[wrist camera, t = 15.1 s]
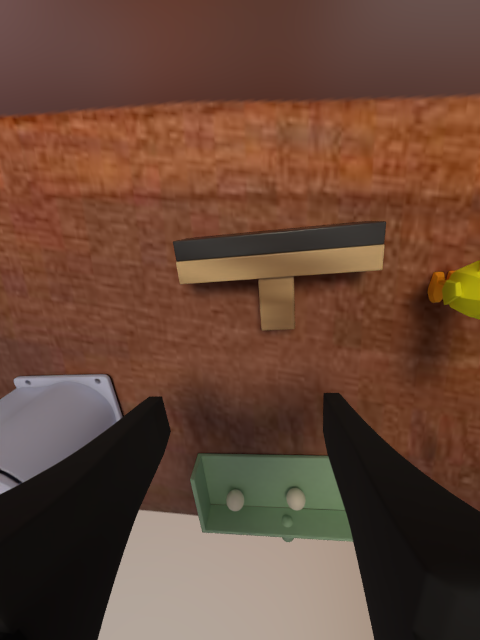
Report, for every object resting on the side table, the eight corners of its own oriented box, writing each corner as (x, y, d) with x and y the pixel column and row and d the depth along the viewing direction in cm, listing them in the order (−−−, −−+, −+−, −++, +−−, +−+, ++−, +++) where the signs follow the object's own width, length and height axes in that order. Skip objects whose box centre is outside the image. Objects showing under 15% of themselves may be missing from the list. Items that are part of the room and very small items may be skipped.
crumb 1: (225, 488, 27) (227, 507, 26) (225, 494, 25) (227, 516, 25) (242, 485, 27) (244, 505, 26) (243, 491, 25) (246, 513, 25)
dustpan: (198, 453, 26) (189, 479, 23) (377, 456, 23) (391, 486, 21) (211, 516, 29) (205, 546, 26) (369, 525, 27) (379, 558, 24)
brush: (186, 238, 18) (200, 320, 20) (171, 241, 15) (189, 336, 17) (367, 220, 16) (360, 312, 19) (387, 221, 14) (376, 328, 16)
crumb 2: (289, 492, 24) (281, 488, 26) (293, 515, 23) (285, 510, 25) (306, 487, 25) (297, 484, 26) (311, 509, 24) (301, 505, 25)
